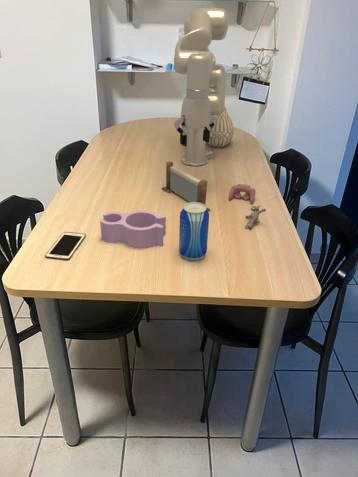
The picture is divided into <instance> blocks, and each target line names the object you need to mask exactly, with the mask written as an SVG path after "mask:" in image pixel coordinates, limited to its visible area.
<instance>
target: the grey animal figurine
mask: <svg viewBox="0 0 358 477" xmlns="http://www.w3.org/2000/svg"><path fill="white" fill-rule="evenodd" d="M260 208H261V205H258V206H257V205H251V206H250V207H249V210H250V211H251V213H250V214H249V215H247V214H245V216H244V217H245V219H249V220H247V223H246V225H244V228H245V229H249V228H252V227H253V225H254V223H256V226H258V225H259V224H258V220H259V216H260V214H261V213H264V212H266V211H267V210H266V208H264V209H263V208H261V210H260Z"/></svg>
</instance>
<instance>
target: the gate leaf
mask: <svg viewBox="0 0 358 477" xmlns="http://www.w3.org/2000/svg"><path fill="white" fill-rule="evenodd" d="M199 184H200V179H198V178H196V177H195V176H193V175H191V174H189V173H187V172H186V171H184V170H182V169H180V168H179V167H177V166H175V165H173V166H172V167H170V189H171V190H172V191H174V193H176V194H177V195H179V196H181V198H184V199H186V200H187V201H188V202H189V203H190V202H199Z"/></svg>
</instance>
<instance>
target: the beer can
mask: <svg viewBox="0 0 358 477" xmlns="http://www.w3.org/2000/svg"><path fill="white" fill-rule="evenodd" d="M207 208H208V207H207V206H206V205H204V204H202V203H199V202H190V201H189V202H188V203H185V204H184V205H183V208H182V209H181V211H180V212H179V233H178V234H179V236H178V252H179V254H180V255H181V257H182V258H183V259H185V260H187V261H199V260H201V259H203V258H204V256H206V255H207V253H208V252H207V251H208V240H209V239H208V238H209V226H210V225H209V224H210V212H208V211H207Z"/></svg>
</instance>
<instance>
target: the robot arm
mask: <svg viewBox="0 0 358 477" xmlns="http://www.w3.org/2000/svg"><path fill="white" fill-rule="evenodd" d="M183 24H184V25H183V29H184V35H183V36H182V37H180V38H179V39H178V41H177V42H176V44H175V49H174V55H173V56H174V57H173V68H174V70H175V72H177V73H178V75H179V74H181V75H186V85H185V86H186V89H185V96H184V97H183V101H182V104H181V109H180V110H181V111H180V117H179V118H178V119H177V120H176V121H174V122H173V126H174V128H175V129H176V131H177V132H178V134H179V143H180V146H183V147H184V155H183V156H182V157H181V159H180V162H181V163H182V164H184V165H186V166H191V167H199V166H204V165H207V164H208V161H209V159H208V156H212V155H213V154H214V152H213V150H210V151H208V150H206V146H207V145H206V144H207V143H208V142H209V139H210V131H211V130H212V128H213V127H214V125H215V122H216V120H217V118H216V117H214V116H212V115H220V114H222V113H223V111H224V106H225V103H226V102H225V100H226V88H227V87H226V84H227V72H226V68H225V67H224V66H223V65H220V64H216V57H215V55H214V54H213V52H211V51H210V50H209V48H208V47H209V46H210V45H211V43H212V41H223V40H224V39H225V38H226V36H227V32H228V30H229V26H230V25H229V24H230V19H229V14H228V12H227V10H226V9H224V8H221V7H198V8H196V9H194V10H193V11H192V12H191V14H190V16H188V17H186V18H185V20H184V23H183ZM211 89H212V90H214V91H212V90H211ZM210 119H211V122H210Z"/></svg>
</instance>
